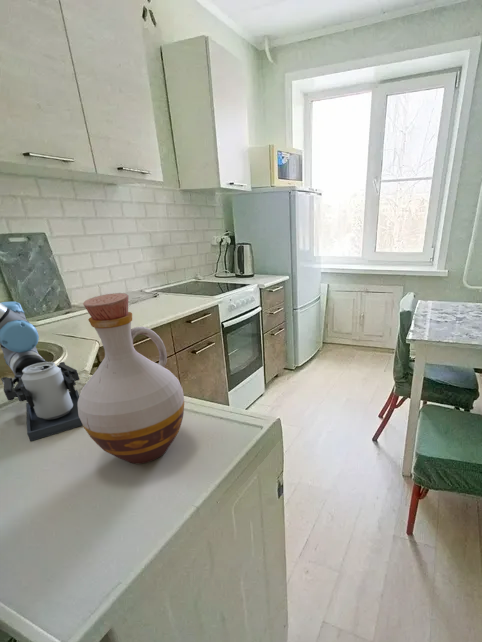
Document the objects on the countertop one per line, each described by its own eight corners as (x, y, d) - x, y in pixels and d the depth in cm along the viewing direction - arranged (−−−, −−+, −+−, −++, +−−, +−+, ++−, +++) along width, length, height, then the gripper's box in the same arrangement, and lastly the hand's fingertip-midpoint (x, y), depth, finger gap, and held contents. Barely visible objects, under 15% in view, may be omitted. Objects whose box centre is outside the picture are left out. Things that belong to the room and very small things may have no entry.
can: (76, 414, 82) (59, 366, 77) (38, 425, 78) (17, 376, 73) (72, 402, 88) (56, 357, 83) (37, 411, 84) (18, 365, 79)
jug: (148, 417, 81) (114, 284, 68) (214, 429, 75) (191, 286, 62) (74, 470, 65) (12, 308, 52) (152, 491, 59) (103, 313, 46)
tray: (89, 423, 80) (86, 416, 79) (30, 441, 74) (27, 433, 73) (79, 396, 93) (77, 389, 92) (29, 410, 87) (26, 402, 86)
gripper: (77, 369, 100) (105, 393, 85) (-12, 394, 88) (2, 428, 72) (68, 344, 97) (96, 364, 82) (-25, 366, 84) (-13, 395, 69)
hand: (52, 394), depth 77 cm, fingers closed on can, 7 cm apart
